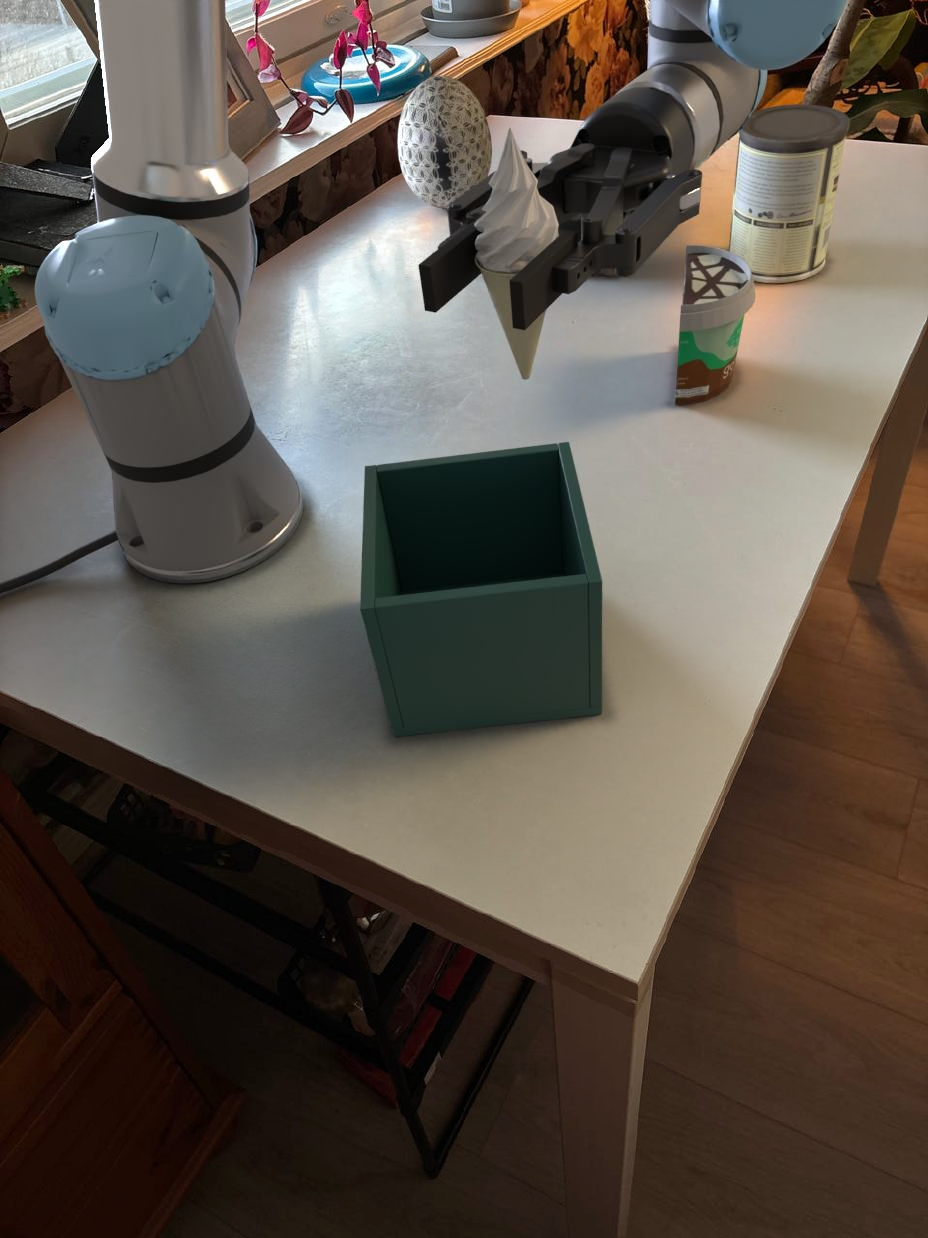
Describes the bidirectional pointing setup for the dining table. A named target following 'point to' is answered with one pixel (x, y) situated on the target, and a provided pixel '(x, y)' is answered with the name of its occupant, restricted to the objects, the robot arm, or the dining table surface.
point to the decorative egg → (443, 141)
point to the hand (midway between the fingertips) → (471, 296)
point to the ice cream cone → (513, 243)
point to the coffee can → (786, 189)
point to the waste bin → (481, 590)
